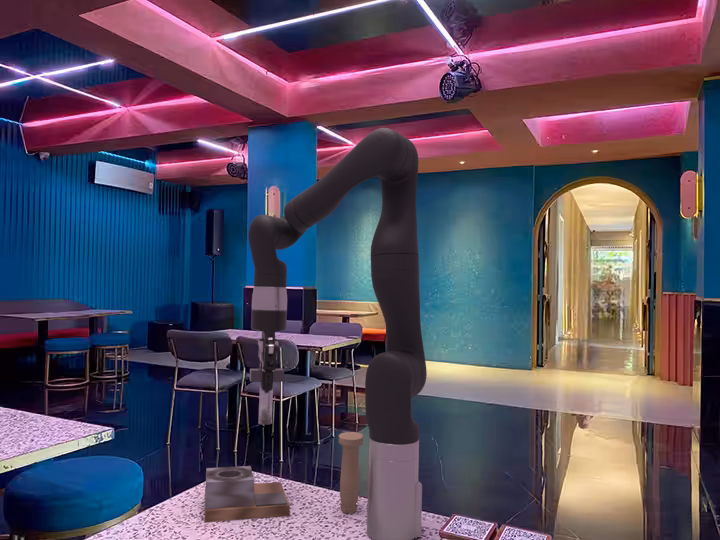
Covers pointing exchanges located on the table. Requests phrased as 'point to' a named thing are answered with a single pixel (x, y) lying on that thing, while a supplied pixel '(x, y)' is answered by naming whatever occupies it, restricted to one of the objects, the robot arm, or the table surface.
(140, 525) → the table surface
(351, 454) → the handle
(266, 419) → the hammer
